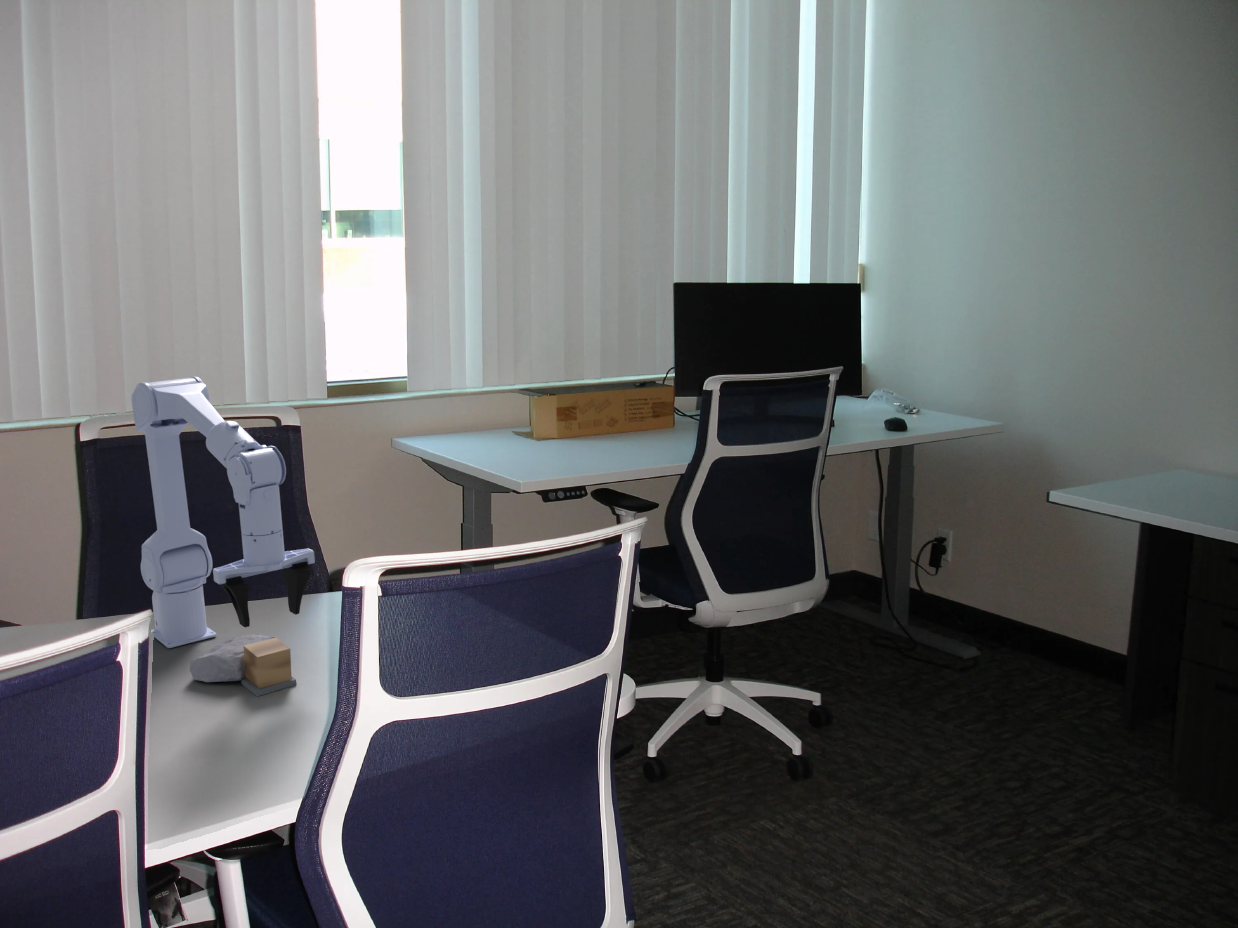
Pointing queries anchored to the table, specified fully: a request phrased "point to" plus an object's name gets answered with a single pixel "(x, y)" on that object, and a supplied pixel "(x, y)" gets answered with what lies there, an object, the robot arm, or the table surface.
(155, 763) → the table surface
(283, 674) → the tan cube
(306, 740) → the table surface
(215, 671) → the stone block
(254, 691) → the charcoal pad
